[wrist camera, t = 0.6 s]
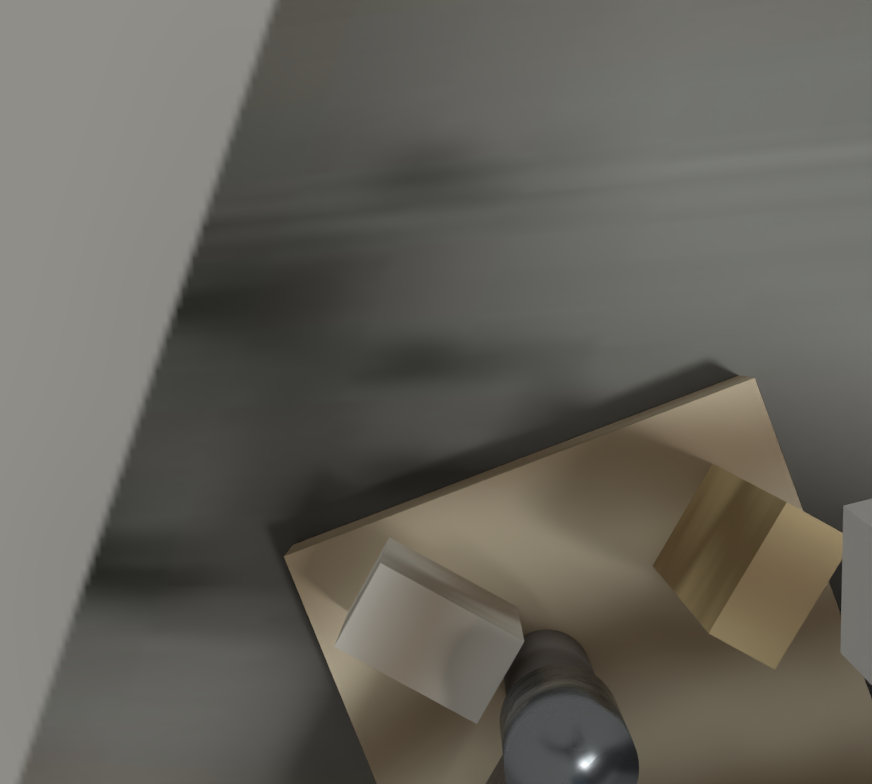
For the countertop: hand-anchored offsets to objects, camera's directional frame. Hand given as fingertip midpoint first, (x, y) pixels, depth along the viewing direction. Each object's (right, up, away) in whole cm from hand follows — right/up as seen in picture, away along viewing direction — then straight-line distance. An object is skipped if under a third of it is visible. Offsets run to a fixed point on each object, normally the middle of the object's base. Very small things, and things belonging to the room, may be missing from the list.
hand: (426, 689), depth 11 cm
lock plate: (+6, -5, +17) cm, 19 cm away
